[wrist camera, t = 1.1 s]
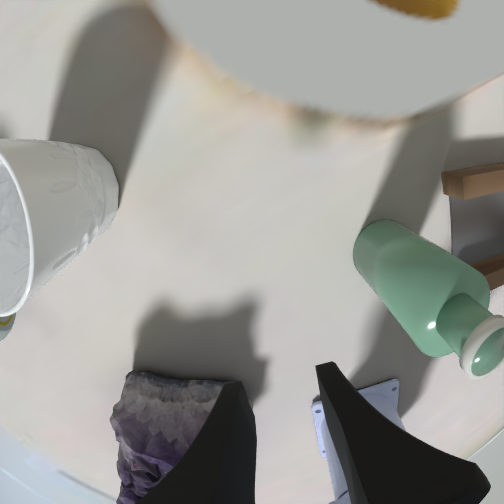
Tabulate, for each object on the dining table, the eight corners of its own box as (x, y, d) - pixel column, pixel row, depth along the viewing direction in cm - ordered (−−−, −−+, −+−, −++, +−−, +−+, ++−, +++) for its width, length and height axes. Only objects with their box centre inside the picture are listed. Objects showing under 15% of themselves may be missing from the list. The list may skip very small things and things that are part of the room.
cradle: (522, 257, 20) (539, 266, 18) (446, 288, 21) (463, 302, 18) (522, 159, 17) (541, 163, 15) (441, 172, 18) (462, 177, 15)
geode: (212, 485, 29) (193, 550, 20) (124, 449, 29) (92, 508, 20) (281, 388, 23) (269, 496, 13) (144, 332, 23) (77, 418, 13)
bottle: (411, 272, 20) (515, 371, 9) (356, 288, 20) (439, 412, 9) (407, 213, 19) (537, 284, 7) (348, 227, 19) (455, 324, 8)
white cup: (92, 112, 17) (-16, 98, 7) (150, 210, 19) (67, 267, 9) (22, 181, 18) (-78, 210, 8) (72, 268, 20) (-13, 339, 10)
